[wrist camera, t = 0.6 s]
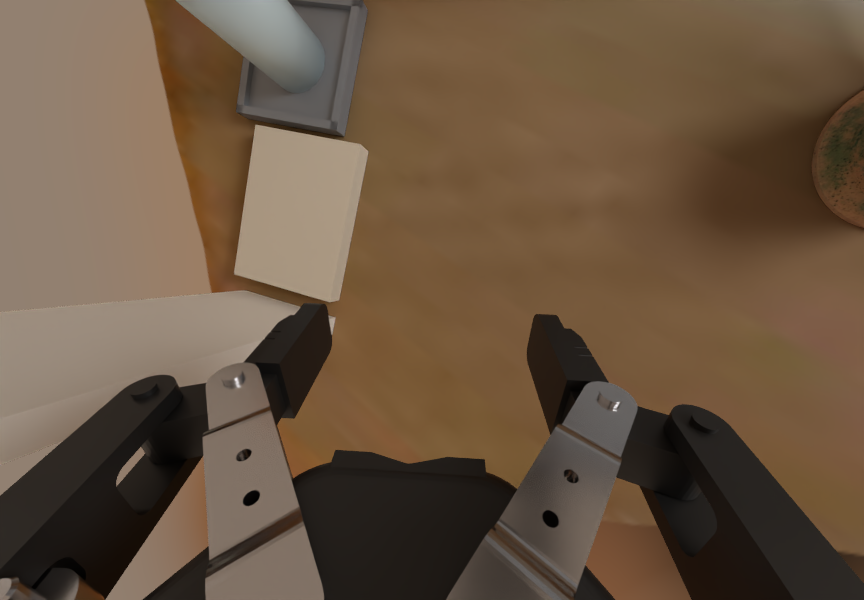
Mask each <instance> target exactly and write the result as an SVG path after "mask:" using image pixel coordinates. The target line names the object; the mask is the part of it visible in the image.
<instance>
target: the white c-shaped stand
mask: <svg viewBox="0 0 864 600" xmlns="http://www.w3.org/2000/svg"><path fill="white" fill-rule="evenodd" d="M368 152H369V151H367V150H366V149H365V148H364V147H363V146H362V145H360V144H356V143H351V142H346V141H340V140H335V139H330V138H324V137H319V136H314V135H308V134H303V133H298V132H292V131H287V130H282V129H277V128H271V127H266V126H261V125H255V132H254V139H253V146H252V153H251V160H250V167H249V174H248V180H247V187H246V194H245V201H244V208H243V215H242V222H241V229H240V236H239V243H238V250H237V257H236V264H235V270H234V274H235V275H239V276H242V277H245V278H249V279H252V280H256V281H259V282H262V283H266V284H269V285H273V286H276V287H279V288H283V289H286V290H290V291H293V292H296V293H300V294H303V295H307V296H310V297H313V298H317V299H320V300H324V301H327V302H333V301H338V300H339V298H340V293H341V288H342V283H343V278H344V273H345V268H346V263H347V258H348V253H349V248H350V243H351V238H352V233H353V228H354V223H355V218H356V212H357V207H358V202H359V197H360V192H361V187H362V182H363V177H364V172H365V167H366V162H367V157H368ZM299 309H300V307H299V306H296V305H293V304H289V303H286V302H283V301H280V300H276V299H273V298H270V297H266V296H263V295H260V294H256V293H253V292H250V291H247V290H242V291H230V292H219V293H208V294H198V295H186V296H174V297H164V298H153V299H141V300H130V301H118V302H107V303H96V304H85V305H73V306H62V307H51V308H40V309H28V310H17V311H6V312H0V465H3V464H5V463H8V462H11V461H13V460H15V459H18V458H21V457H23V456H26V455H28V454H31V453H33V452H36V451H38V450H41V449H43V448H46V447H49V446H51V445H53V444H56V443H58V442H61V441H64V440H65V439H66V438H67V437H69V436H70V435H71V434H72V433H73V432H74V431H75V430H77V429H78V428H79V427H80V426H81V425H82V424H84V423H85V422H86V421H87V420H88V419H89V418H90V417H92V416H93V415H94V414H95V413H96V412H97V411H98V410H100V409H101V408H102V407H103V406H104V405H105V404H107V403H108V402H109V401H110V400H111V399H112V398H113V397H115V396H116V395H117V394H118V393H119V392H120V391H122V390H123V389H124V388H126V387H127V386H129V385H131V384H132V383H134V382H136V381H139V380H141V379H144V378H147V377H150V376H155V375H170V376H172V377H174V378H175V380H176V382H177V384H178V386H179V387H184V386H190V385H196V384H202V383H207V381H208V379H209V378H210V377H211V376H212V375H213V374H214V373H215V372H217V371H218V370H220V369H222V368H224V367H226V366H229V365H232V364H236V363H243V362H244V361H245V360H246V359H247V358H248V356H249V355H250V354H251V353H252V352H253V351H254V350H255V348H256V347H257V346H258V345H259V344H260V343H261V341H262V340H263V339H265V337H266V336H267V335H268V333H269V332H271V330H272V329H273V328H274V327H275V325H276V324H277V323H278V322H279V321H281V320H283V319H284V318H286V317H288V316H289V315H295V314H296V312H297V311H298V310H299ZM328 316H329V315H328ZM335 318H336V317H332V316H329V322H330V328H331V334H332V333H333V328H334V323H335Z"/></svg>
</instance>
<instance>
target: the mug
mask: <svg viewBox="0 0 864 600" xmlns="http://www.w3.org/2000/svg"><path fill="white" fill-rule="evenodd" d="M812 176H813V181H814V185H815V188H816V190H817V192H818V194H819V196H820V198H821V199H822V201H823V202H824V204H825V205H826V206H827V207H828V208H829V209H830V210H831V211H832V212H833V213H834V214H836V215H837V216H838V217H840V218H842V219H843V220H845V221H847V222H849V223H851V224H853V225H856V226H858V227H862V228H864V90H863V91H861V92H860V93H858V94H857V95H855V96H854V97H853V98H851V99H850V100H849V101H847V102H846V103H845V104H844V105H843V106H842V107H841V108H840V109H838V110H837V112H836V113H835V114H834V115H833V116H832V117H831V118H830V120H829V121H828V122H827V124H826V125H825V127H824V128H823V130H822V132H821V134H820V136H819V138H818V140H817V142H816V145H815V148H814V152H813V157H812Z"/></svg>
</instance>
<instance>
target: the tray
mask: <svg viewBox="0 0 864 600" xmlns="http://www.w3.org/2000/svg"><path fill="white" fill-rule="evenodd" d="M288 2H289V3H290V4H291V5H292V7H293V8H294V9H295V10H296V12H297V13H298V14H299V15H300V17H301V18H302V19H303V20H304V22H305V23H306V24H307V25H308V27H309V28H310V29H311V30H312V31H313V33H314V34H315V35H316V36H317V38H318V39H319V40H320V42H321V44H322V46H323V49H324V55H325V64H324V69H323V72H322V75H321V77H320V79H319V80H318V82H317V83H316V84H315V85H314V86H313V87H312V88H311V89H309V90H307V91H305V92H302V93H291V92H288V91H286V90H285V89H283V88H282V87H281V86H280V85H278V84H277V83H276V82H275V81H273V80H272V79H271V78H270V77H269V76H267V75H266V74H265V73H264V72H262V71H261V70H260V69H259V68H258V67H256V66H255V65H254V64H253V63H251V62H250V61H249V60H248V59H246V58H245V57H244V56H243V64H242V71H241V78H240V86H239V93H238V101H237V108H236V112H237V113H239V114H240V115H242V116H244V117H246V118H247V119H252V120H257V121H263V122H268V123H273V124H279V125H284V126H290V127H295V128H300V129H306V130H311V131H317V132H322V133H327V134H333V135H338V136H345V131H346V125H347V120H348V114H349V109H350V104H351V98H352V93H353V88H354V82H355V77H356V71H357V66H358V61H359V55H360V50H361V45H362V39H363V34H364V28H365V23H366V18H367V12H368V10H367V8H366V6H365V4H364V2H363V0H288Z"/></svg>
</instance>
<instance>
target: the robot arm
mask: <svg viewBox="0 0 864 600" xmlns="http://www.w3.org/2000/svg"><path fill="white" fill-rule="evenodd" d="M331 346H332V334H331V328H330V322H329V316H328V310H327V307H326V305H325V304H316V303H304V304H303V305H302V306H301V307H300V309H299V310H298V311H297V312H296V314H295V315H289V316H288V317H286V318H284V319H283V320H281V321H279V322H278V323H277V324H276V325H275V327H274V328H273V329H272V330H271V332H269V333H268V335H267V336H266V337H265V339H263V340H262V341H261V343H260V344H259V345H258V346H257V347H256V348H255V350H254V351H253V352H252V353H251V354H250V355H249V356H248V358H247V359H246V360H245V361H244V362H243V363H236V364H232V365H229V366H226V367H224V368H222V369H220V370H218V371H217V372H215V373H214V374H213V375H212V376H211V377H210V378H209V379H208V381H207V383H202V384H196V385H190V386H184V387H179V386H178V384H177V382H176V380H175V378H174V377H172V376H170V375H155V376H150V377H147V378H144V379H141V380H139V381H136V382H134V383H132V384H131V385H129V386H127V387H126V388H124V389H123V390H122V391H120V392H119V393H118V394H117V395H116V396H115V397H113V398H112V399H111V400H110V401H109V402H108V403H107V404H105V405H104V406H103V407H102V408H101V409H100V410H98V411H97V412H96V413H95V414H94V415H93V416H92V417H90V418H89V419H88V420H87V421H86V422H85V423H84V424H82V425H81V426H80V427H79V428H78V429H77V430H75V431H74V432H73V433H72V434H71V435H70V436H69V437H67V438H66V439H65V440H64V441H63V442H62V443H60V444H59V445H58V446H57V447H56V448H55V449H54V450H52V452H50V453H49V454H48V455H47V456H46V457H44V458H43V459H42V460H41V461H40V462H39V463H37V464H36V465H35V466H34V467H33V468H32V469H31V470H30V471H28V472H27V473H26V474H25V475H24V476H22V477H21V478H20V479H19V480H18V481H17V482H16V483H14V484H13V485H12V486H11V487H10V488H9V489H8V490H6V491H5V492H4V493H3V494H2V495H1V496H0V600H105V599H106V598H107V596H108V595H109V593H110V592H111V590H112V589H113V587H114V586H115V584H116V583H117V581H118V580H119V578H120V577H121V576H122V574H123V573H124V571H125V570H126V568H127V567H128V565H129V564H130V562H131V561H132V559H133V558H134V556H135V555H136V554H137V552H138V551H139V549H140V548H141V546H142V545H143V543H144V542H145V540H146V539H147V537H148V536H149V534H150V533H151V531H152V530H153V529H154V527H155V526H156V524H157V523H158V521H159V520H160V518H161V517H162V515H163V514H164V512H165V511H166V509H167V508H168V506H169V505H170V504H171V502H172V501H173V499H174V498H175V496H176V495H177V493H178V492H179V490H180V489H181V487H182V486H183V484H184V483H185V482H186V480H187V478H188V477H189V476H190V474H191V473H192V471H193V470H194V468H195V467H196V465H197V464H198V462H199V461H200V460H201V458H202V457H203V455H204V472H205V489H206V505H207V506H206V507H207V523H208V541H209V546H208V547H207V548H206V549H205V550H203V551H202V552H201V553H200V554H198V555H197V556H196V557H195V558H194V559H192V560H191V561H190V562H189V563H187V564H186V565H185V566H184V567H183V568H181V569H180V570H179V571H177V572H176V573H175V574H174V575H173V576H172V577H170V578H169V579H168V580H166V581H165V582H164V583H163V584H161V585H160V586H159V587H158V588H156V589H155V590H154V591H153V592H151V593H150V594H149V595H148V596H147V597H145V598H144V599H143V600H615V599H614V598H613V596H612V595H611V594H610V593H609V592H608V591H607V590H606V588H605V587H604V586H603V585H602V584H601V583H600V581H599V580H598V579H597V578H596V577H595V576H594V575H593V573H592V572H591V571H590V570H589V569H588V568H587V566H586V565H585V564H586V561H587V558H588V556H589V553H590V550H591V547H592V544H593V541H594V538H595V535H596V533H597V530H598V527H599V524H600V521H601V519H602V516H603V513H604V510H605V507H606V504H607V501H608V499H609V496H610V493H611V490H612V487H613V484H614V481H615V479H616V477H617V478H620V479H623V480H626V481H628V482H631V483H634V484H637V485H639V486H640V488H641V490H642V492H643V494H644V497H645V499H646V501H647V503H648V505H649V508H650V510H651V512H652V514H653V516H654V519H655V521H656V523H657V525H658V527H659V529H660V531H661V534H662V536H663V538H664V540H665V543H666V545H667V547H668V549H669V551H670V553H671V556H672V558H673V560H674V562H675V564H676V567H677V569H678V571H679V573H680V575H681V578H682V580H683V582H684V584H685V586H686V588H687V591H688V593H689V595H690V597H691V599H692V600H864V583H863V582H862V581H861V580H860V579H859V577H858V576H857V575H856V574H855V573H854V571H853V570H852V569H851V568H850V567H849V566H848V564H847V563H846V562H845V561H844V560H843V558H842V557H841V556H840V555H839V554H838V553H837V551H836V550H835V549H834V548H833V547H832V545H831V544H830V543H829V542H828V541H827V540H826V538H825V537H824V536H823V535H822V534H821V533H820V531H819V530H818V529H817V528H816V527H815V525H814V524H813V523H812V522H811V521H810V520H809V518H808V517H807V516H806V515H805V514H804V512H803V511H802V510H801V509H800V508H799V507H798V505H797V504H796V503H795V502H794V501H793V499H792V498H791V497H790V496H789V495H788V494H787V492H786V491H785V490H784V489H783V488H782V486H781V485H780V484H779V483H778V482H777V481H776V479H775V478H774V477H773V476H772V475H771V474H770V472H769V471H768V470H767V469H766V468H765V466H764V465H763V464H762V463H761V462H760V461H759V459H758V458H757V457H756V456H755V455H754V453H753V452H752V451H751V450H750V449H749V448H748V446H747V445H746V444H745V443H744V442H743V440H742V439H741V438H740V437H739V436H738V435H737V433H736V432H735V431H734V430H733V429H732V428H731V427H730V425H729V424H727V423H726V422H725V421H724V420H723V419H721V418H720V417H718V416H717V415H715V414H713V413H712V412H710V411H708V410H705V409H703V408H700V407H697V406H693V405H684V404H683V405H678V406H675V407H674V408H673V409H672V411H671V413H670V415H666V414H662V413H659V412H655V411H652V410H648V409H645V408H642V407H639V406H637V404H636V402H635V400H634V399H633V397H632V396H631V395H630V394H629V393H627V392H626V391H625V390H623V389H622V388H620V387H618V386H616V385H613V384H611V383H609V382H608V380H607V379H606V377H605V376H604V374H603V372H602V371H601V369H600V367H599V366H598V364H597V362H596V361H595V359H594V357H592V354H591V352H590V351H589V349H587V346H586V344H585V342H584V341H583V339H582V338H581V337H580V336H579V335H578V334H577V333H575V332H574V331H573V330H572V329H565V328H564V327H563V325H562V323H561V322H560V320H559V318H558V316H557V315H545V314H536V315H535V316H534V318H533V323H532V328H531V332H530V337H529V342H528V347H527V361H528V365H529V368H530V372H531V375H532V378H533V381H534V384H535V387H536V391H537V394H538V397H539V400H540V403H541V406H542V409H543V413H544V416H545V419H546V422H547V425H548V428H549V432H550V435H551V436H550V437H549V439H548V440H547V442H546V444H545V445H544V447H543V449H542V450H541V452H540V454H539V455H538V457H537V458H536V460H535V462H534V463H533V465H532V467H531V468H530V470H529V471H528V473H527V475H526V476H525V478H524V480H523V481H522V483H521V484H520V486H519V488H518V489H516V488H515V487H514V486H512V485H511V484H510V483H508V482H506V481H505V480H503V479H501V478H499V477H497V476H495V475H493V474H490V473H487V472H486V468H485V459H470V458H454V457H445V458H440V459H434V460H429V461H423V462H418V463H412V464H407V463H403V462H400V461H397V460H394V459H391V458H388V457H385V456H382V455H378V454H375V453H372V452H359V451H343V450H335V453H334V456H333V459H332V462H331V463H326V464H323V465H319V466H316V467H314V468H312V469H309V470H307V471H305V472H303V473H301V474H299V475H298V476H296V477H295V478H293V477H292V473H291V470H290V467H289V463H288V460H287V457H286V453H285V450H284V447H283V443H282V440H281V437H280V434H279V430H278V427H277V424H278V422H279V421H280V419H281V418H295V417H296V415H297V413H298V411H299V409H300V407H301V405H302V404H303V402H304V400H305V398H306V396H307V394H308V392H309V390H310V389H311V387H312V385H313V383H314V381H315V379H316V377H317V375H318V374H319V372H320V370H321V368H322V366H323V364H324V362H325V360H326V359H327V357H328V355H329V353H330V350H331ZM140 447H142V448H143V450H144V452H145V454H144V456H143V457H142V458H141V459H140V460H139V461H138V463H137V464H136V465H135V466H134V467H133V468H132V470H131V471H130V472H129V473H128V474H127V475H126V477H125V478H124V479H123V480H122V481H121V482H120V483H119V485H118V486H117V487H116V480H117V476H118V474H119V472H120V470H121V469H122V467H123V466H124V465H125V464H126V462H127V461H128V460H129V459H130V458H131V457H132V456H133V455H134V454H135V452H136V451H137V450H138V449H139V448H140ZM704 495H705V496H704Z"/></svg>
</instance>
